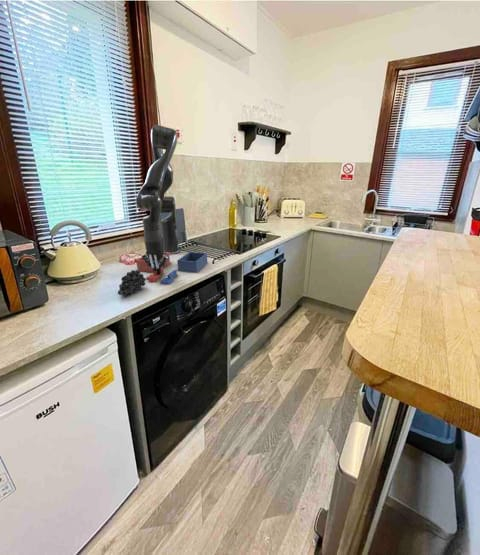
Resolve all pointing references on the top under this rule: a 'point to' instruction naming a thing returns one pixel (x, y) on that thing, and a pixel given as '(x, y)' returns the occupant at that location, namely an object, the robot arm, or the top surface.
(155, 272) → the red lumpy bar
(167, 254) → the red bin
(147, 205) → the robot arm
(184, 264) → the blue bin
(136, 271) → the fruit
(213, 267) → the top surface
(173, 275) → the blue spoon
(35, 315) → the top surface
